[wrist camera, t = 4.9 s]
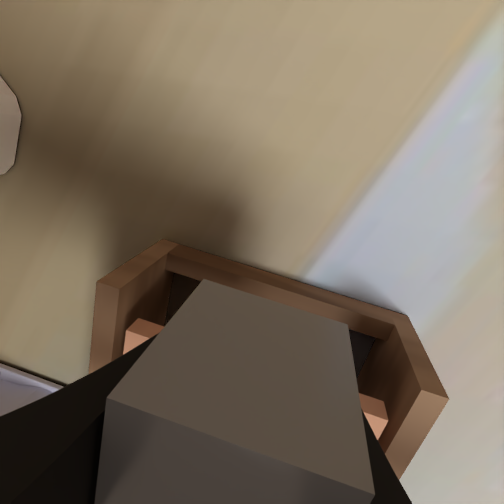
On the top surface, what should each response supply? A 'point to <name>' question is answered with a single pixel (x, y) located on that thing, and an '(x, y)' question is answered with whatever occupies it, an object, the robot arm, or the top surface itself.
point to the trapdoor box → (295, 295)
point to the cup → (8, 126)
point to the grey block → (237, 410)
